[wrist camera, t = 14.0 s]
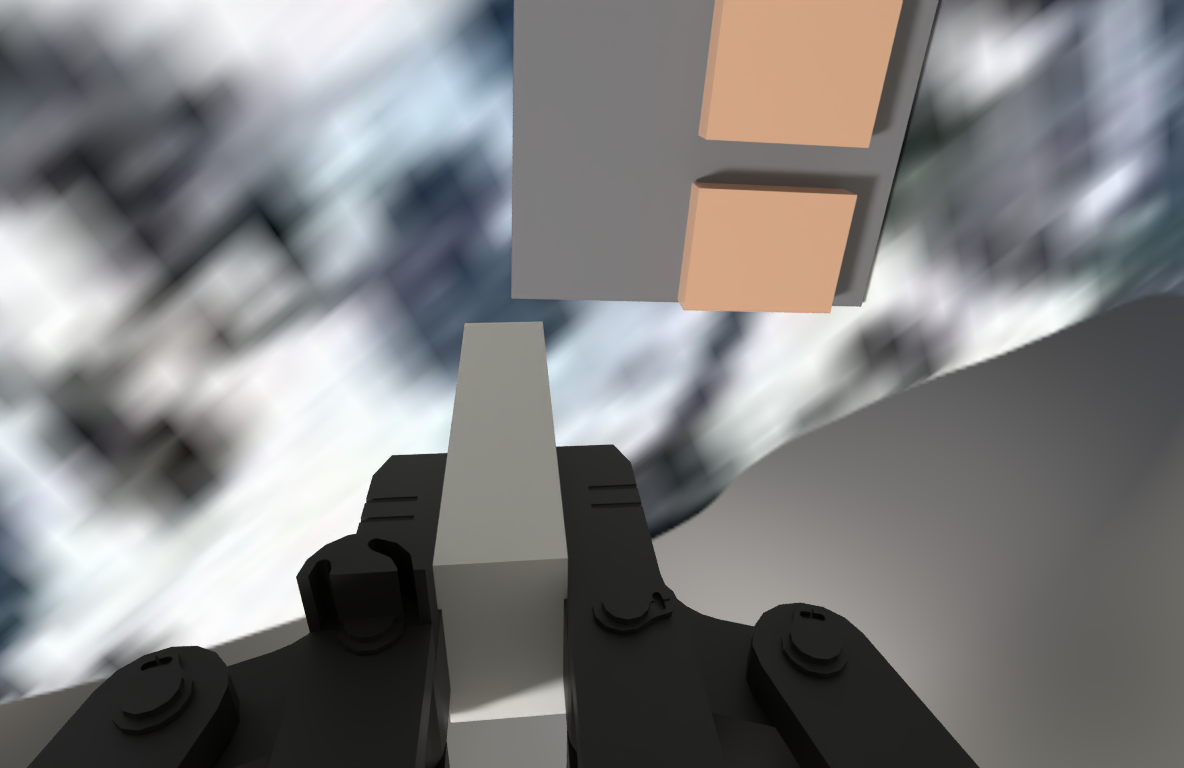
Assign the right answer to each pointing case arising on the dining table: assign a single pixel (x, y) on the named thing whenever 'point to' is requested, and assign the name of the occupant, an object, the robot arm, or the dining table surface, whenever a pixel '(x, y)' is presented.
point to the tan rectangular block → (797, 70)
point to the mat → (661, 147)
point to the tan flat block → (764, 247)
